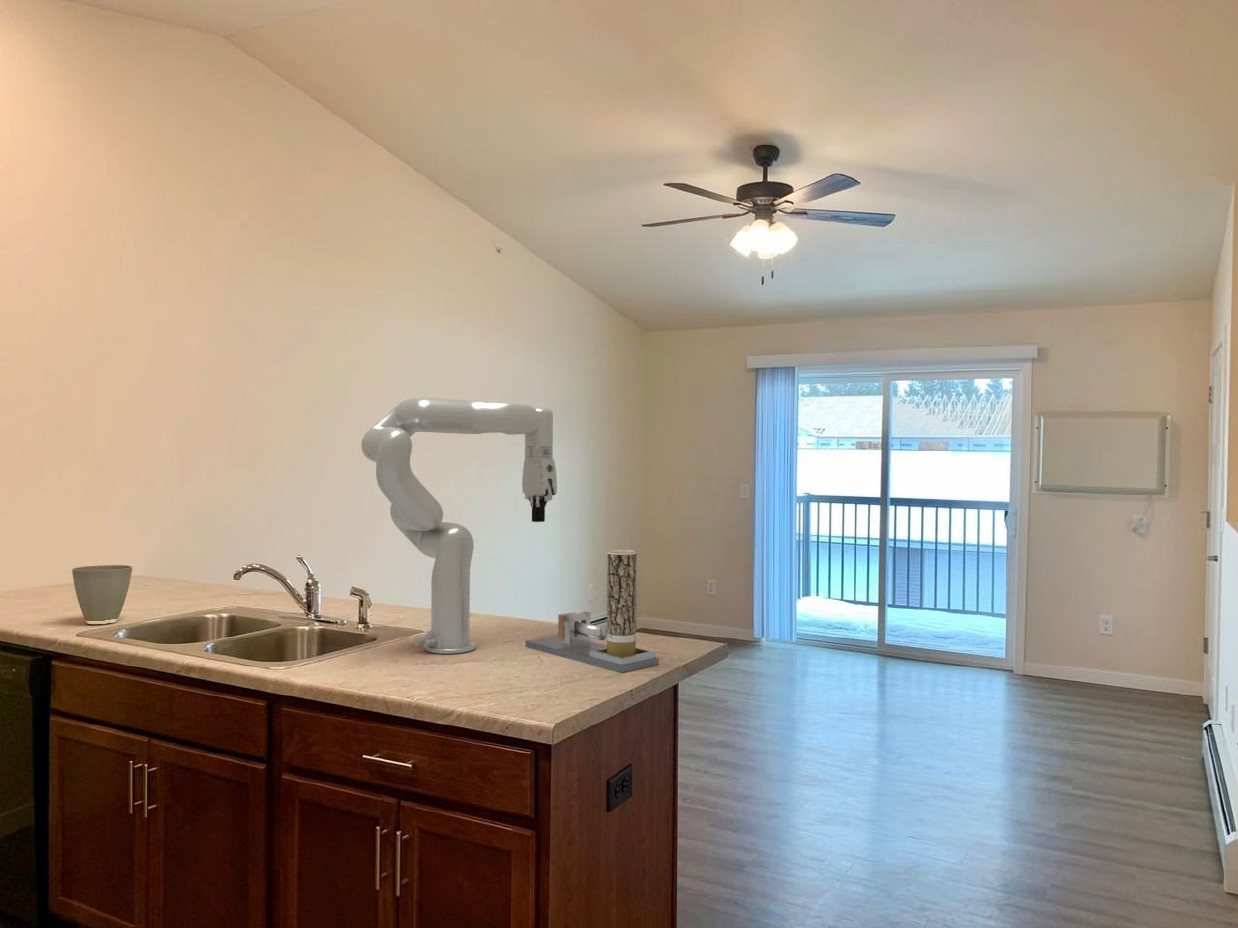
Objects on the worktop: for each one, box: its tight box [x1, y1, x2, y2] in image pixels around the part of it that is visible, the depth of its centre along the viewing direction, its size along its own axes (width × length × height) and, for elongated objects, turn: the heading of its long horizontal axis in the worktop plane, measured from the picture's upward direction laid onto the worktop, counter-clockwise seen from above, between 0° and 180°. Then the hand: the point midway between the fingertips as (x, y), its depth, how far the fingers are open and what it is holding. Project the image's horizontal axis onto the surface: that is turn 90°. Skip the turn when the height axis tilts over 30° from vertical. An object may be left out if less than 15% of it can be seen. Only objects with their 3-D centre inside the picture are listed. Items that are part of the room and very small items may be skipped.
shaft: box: [557, 611, 607, 641], centre depth 211 cm, size 5×14×6 cm, turn 43°
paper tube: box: [606, 549, 638, 657], centre depth 201 cm, size 7×7×25 cm
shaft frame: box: [524, 611, 660, 674], centre depth 210 cm, size 12×36×10 cm, turn 43°
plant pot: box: [71, 564, 133, 622], centre depth 245 cm, size 15×15×16 cm
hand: (538, 521), depth 231 cm, fingers closed
